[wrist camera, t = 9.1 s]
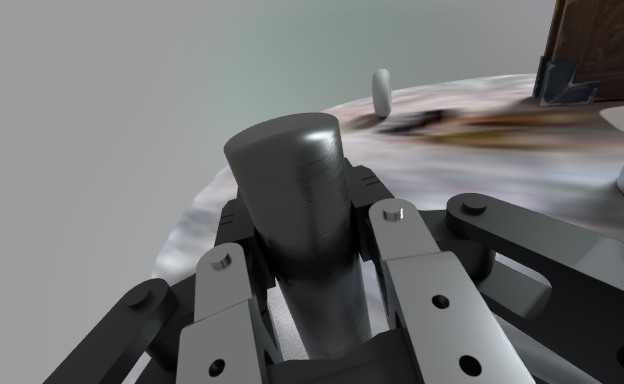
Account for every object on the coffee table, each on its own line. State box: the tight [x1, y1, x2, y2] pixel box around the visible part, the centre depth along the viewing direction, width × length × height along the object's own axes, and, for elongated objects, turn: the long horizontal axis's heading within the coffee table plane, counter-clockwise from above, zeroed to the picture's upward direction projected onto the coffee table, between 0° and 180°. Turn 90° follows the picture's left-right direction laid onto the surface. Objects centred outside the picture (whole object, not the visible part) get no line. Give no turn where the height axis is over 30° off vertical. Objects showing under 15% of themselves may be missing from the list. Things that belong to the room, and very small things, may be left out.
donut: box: [372, 69, 392, 117], centre depth 57 cm, size 10×4×10 cm, turn 163°
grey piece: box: [224, 113, 372, 360], centre depth 17 cm, size 3×18×13 cm, turn 10°
